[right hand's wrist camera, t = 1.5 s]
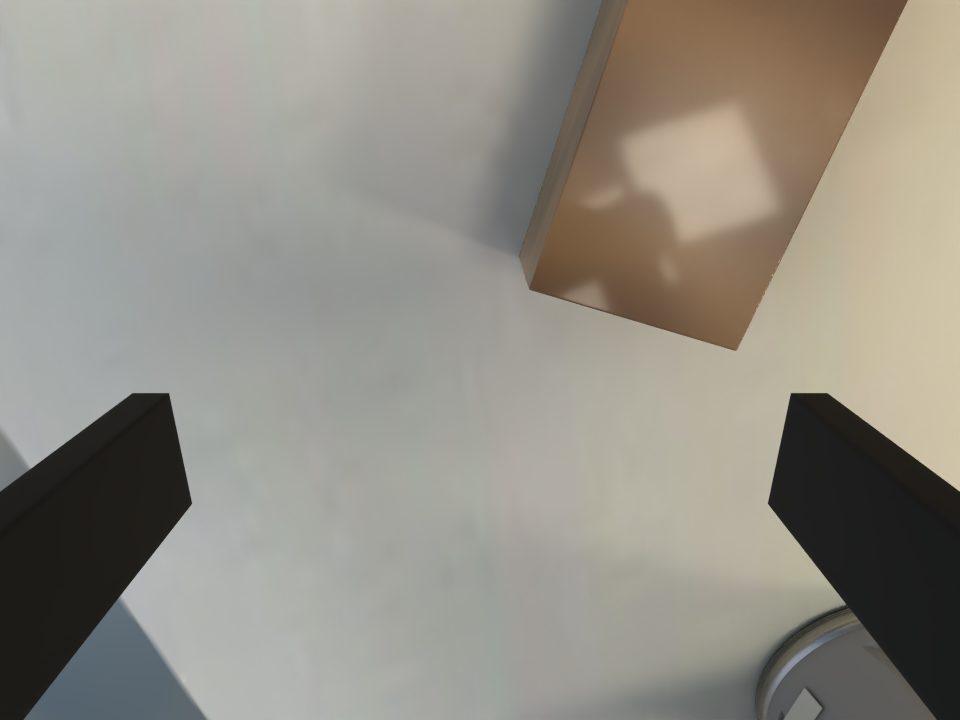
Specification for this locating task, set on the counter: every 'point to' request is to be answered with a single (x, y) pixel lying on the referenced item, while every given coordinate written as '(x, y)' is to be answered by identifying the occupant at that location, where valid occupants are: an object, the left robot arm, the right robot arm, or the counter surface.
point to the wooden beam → (697, 154)
